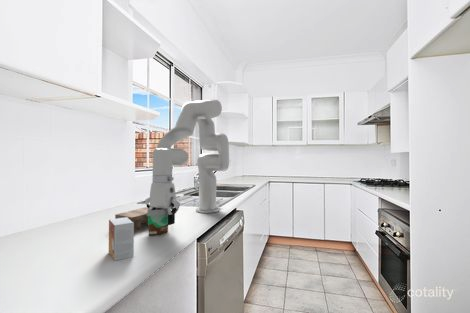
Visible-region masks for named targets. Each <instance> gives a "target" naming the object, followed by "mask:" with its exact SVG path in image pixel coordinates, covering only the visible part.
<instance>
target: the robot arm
mask: <svg viewBox="0 0 470 313" xmlns="http://www.w3.org/2000/svg"><path fill="white" fill-rule="evenodd" d="M222 108H223V107H222V104H221V101H219V100H218V99H204V100H202V99H201V100H195V101H194V100H193V101H188V102H185V103H184V104H183V105H182V106H181V109H180V113H179V115H178V116H177V120H176V123H175V125H174V126H173V127H172V128H171V129H170V130H169V131H167V132H166V133H165V134H164V135H162V137H161V138H160V140H159V141H158V143H157V146H156V148H154V149H153V151H152V176H151V177H152V180H151V181H152V182H151V184H150V191H149V197H147V198H146V199H145V200H144V202H145V203H146V207H147V208H148V210H154V209H155V208H160V209H167V211H168V212H169V215H168V226H170V225H174V224H175V223H176V221H175V220H176V219H175V218H176V214H177V212H178V211H179V209H180V206H181V203H180V202H179V201H178V200H177V199H176V198H177V196H176V195H177V194H176V188H175V187H176V186H175V183H174V182H173V181H174V180H175V179H174V176H173V167H182V166H185V165H187V162H188V160H189V153H188V152H187V151H186V150H184V149H183V148H179V147H177V148H172V147H173V146H174V145H175V144H177V143H178V142H181V141H183V140H185V139H187V138H189V137H191V136H192V135H193V132H194V130H195V127H196V125H198V134H199V135H198V136H199V138H198V140H199V141H198V142H199V148H200V149H201V150H202V151H205V153H201V154H200V155H199V156H198V157H197V160H196V164H197V168H198V207H196V208H195V212H197V213H201V214H214V213H217V212H219V211H220V209H219V207H217V206H219V205H220V201H218V200H217V177H216V174H215V173H214V172H225V171H227V170H228V169H229V165H230V143H229V138H228V136H227V135H226V133H221V132H220V133H219V132H218V133H216V132H215V130H216V129H215V128H216V127H215V122H214V121H213V119H214V118H216V117H220V115H221V113H222V110H223V109H222ZM206 152H209V153H206ZM210 152H214V153H210ZM215 152H216V153H215ZM217 152H218V153H217Z"/></svg>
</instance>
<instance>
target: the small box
mask: <svg viewBox="0 0 470 313" xmlns="http://www.w3.org/2000/svg"><path fill="white" fill-rule="evenodd" d="M134 233H135V232H134V222H132V221H131V220H130V219H128V217H125V218H117V219H115V218H111V219H110V218H109V219H108V253H109V254H110V257H111V258H112V260H113V261H114V262H115V261H116V262H117V261H119V260H122V259H128V258H131V257H134V249H135V247H134V246H135V245H134V243H135V241H134V240H135V239H134V237H135V234H134Z"/></svg>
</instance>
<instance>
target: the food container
mask: <svg viewBox="0 0 470 313" xmlns="http://www.w3.org/2000/svg"><path fill="white" fill-rule="evenodd" d="M168 215H169V212H168V211H167V209H160V208H155V209H154V210H148V212H147V216H148V224H147V225H148V227H147V228H148V230H147V231H148V236H149V237H155V236H156V235H157V236H162V235H161V234H163V235H165V234H167V233H168V232H169V225H168Z"/></svg>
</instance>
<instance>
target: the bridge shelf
mask: <svg viewBox="0 0 470 313" xmlns="http://www.w3.org/2000/svg"><path fill="white" fill-rule="evenodd" d="M147 212H148V208H147V206H144V207H141V208H138V209H137V208H136V209H133V210H129V211H125V212H124V211H123V212H120V213H115V215H114V216H115V217H114V219H117V218H125V217H128V219H130V220H131V221H132V222H134V233H135V232H138V231H141V223H142V224H147V225H148V216H147Z"/></svg>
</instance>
